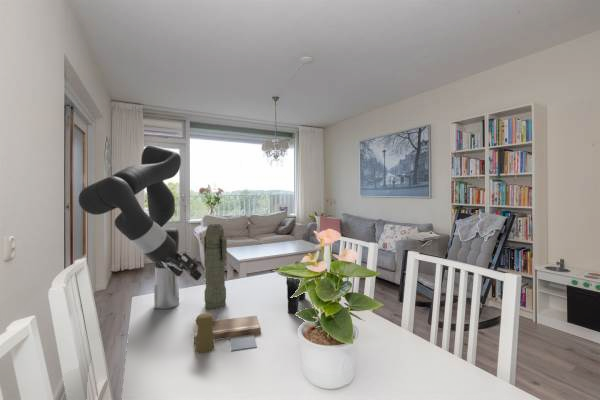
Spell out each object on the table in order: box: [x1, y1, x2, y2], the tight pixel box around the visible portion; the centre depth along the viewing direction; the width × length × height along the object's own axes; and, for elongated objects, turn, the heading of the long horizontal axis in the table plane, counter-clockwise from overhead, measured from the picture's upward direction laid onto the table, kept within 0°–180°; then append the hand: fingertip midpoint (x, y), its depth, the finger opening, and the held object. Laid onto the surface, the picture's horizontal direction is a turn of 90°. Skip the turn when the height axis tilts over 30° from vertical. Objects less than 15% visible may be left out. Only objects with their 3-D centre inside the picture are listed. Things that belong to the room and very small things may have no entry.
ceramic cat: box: [286, 261, 306, 315], centre depth 125 cm, size 20×6×20 cm, turn 165°
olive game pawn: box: [194, 312, 216, 355], centre depth 92 cm, size 6×6×11 cm
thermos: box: [203, 223, 228, 310], centre depth 125 cm, size 9×12×35 cm
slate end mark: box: [229, 334, 258, 352], centre depth 96 cm, size 8×8×1 cm
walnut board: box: [193, 315, 262, 343], centre depth 104 cm, size 22×10×2 cm, turn 107°
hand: (189, 275), depth 86 cm, fingers open, 8 cm apart
